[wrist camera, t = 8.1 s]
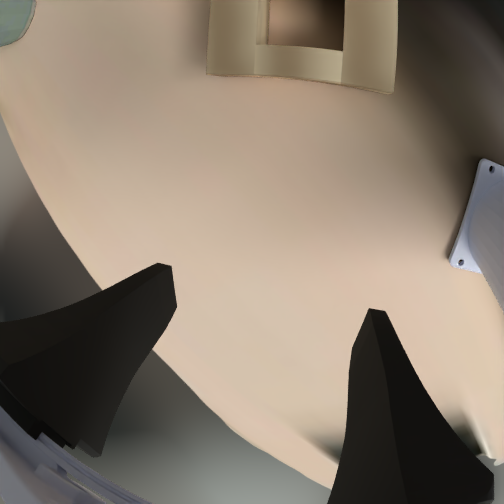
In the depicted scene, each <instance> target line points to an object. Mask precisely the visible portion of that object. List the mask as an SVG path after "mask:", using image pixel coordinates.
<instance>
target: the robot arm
mask: <svg viewBox="0 0 504 504" xmlns="http://www.w3.org/2000/svg"><path fill="white" fill-rule="evenodd" d="M490 166H492V171H491V172H489V168H490ZM459 260H462V262H460V263H458V262H459ZM449 263H450V265H451V266H452V267H456V268H460V269H464V270H468V271H473V272H477V273H481V274H483V275H484V277H485V279H486V281H487V282H488V284H489V286H490V288H491V290H492V291H493V293H494V295H495V297H496V299H497V301H498V303H499V305H500V307H501V309H502V311H503V313H504V166H501V165H499V164H497V163H494V162H492V161H490V160H487V159H481V160H480V162H479V164H478V169H477V173H476V177H475V181H474V185H473V188H472V192H471V195H470V199H469V202H468V206H467V209H466V212H465V215H464V218H463V221H462V224H461V227H460V230H459V233H458V235H457V238H456V241H455V244H454V246H453V249H452V251H451V254H450V256H449ZM176 308H177V302H176V296H175V289H174V281H173V274H172V266H169V265H165V264H161V263H156V264H154V265H152V266H150V267H148V268H146V269H144V270H142V271H140V272H138V273H136V274H134V275H132V276H130V277H128V278H126V279H124V280H122V281H120V282H119V283H117V284H115V285H113V286H111V287H109V288H107V289H105V290H103V291H101V292H99V293H96V294H94V295H92V296H90V297H88V298H86V299H84V300H81V301H79V302H77V303H74V304H72V305H69V306H66V307H64V308H61V309H58V310H54V311H51V312H48V313H45V314H42V315H38V316H34V317H30V318H26V319H20V320H15V321H8V322H0V496H1V497H2V499H3V500H4V502H5V503H6V504H106V502H105V501H104V500H102V499H101V498H100V497H98V496H97V495H96V494H94V493H93V492H91V491H90V490H88V489H87V488H85V487H83V486H82V485H80V484H78V483H76V482H75V481H73V480H71V479H70V478H68V477H67V472H69V473H70V474H71V475H73V476H74V477H75V478H77V479H78V480H79V481H81V482H82V483H84V484H85V485H87V486H88V487H90V488H91V489H93V490H94V491H96V492H97V493H99V494H101V495H102V496H104V497H105V498H107V499H109V500H110V501H112V502H114V503H115V504H153V503H151V502H149V501H147V500H145V499H143V498H141V497H139V496H137V495H135V494H133V493H131V492H129V491H128V490H126V489H124V488H122V487H120V486H118V485H117V484H115V483H113V482H112V481H110V480H108V479H106V478H105V477H103V476H102V475H100V474H98V473H97V472H95V471H94V470H92V469H91V468H89V467H88V466H86V465H85V464H83V463H82V462H80V461H79V460H77V459H76V458H75V457H73V456H72V455H70V454H69V453H68V452H66V451H65V450H64V449H63V447H64V446H65V444H66V445H67V446H69V447H70V448H72V449H74V448H75V447H76V446H77V447H78V448H79V449H81V450H82V451H84V452H85V453H87V454H88V455H90V456H91V457H99V456H101V454H102V450H103V447H104V444H105V441H106V437H107V434H108V431H109V429H110V426H111V424H112V421H113V418H114V416H115V414H116V411H117V409H118V407H119V405H120V402H121V400H122V398H123V396H124V394H125V392H126V390H127V388H128V386H129V384H130V382H131V380H132V378H133V377H134V375H135V373H136V372H137V370H138V368H139V367H140V366H141V364H142V363H143V361H144V360H145V358H146V357H147V355H148V354H149V353H150V351H151V350H152V348H153V347H154V345H155V344H156V343H157V341H158V340H159V338H160V337H161V335H162V334H163V332H164V331H165V329H166V328H167V326H168V324H169V322H170V320H171V318H172V316H173V314H174V312H175V310H176ZM66 471H67V472H66ZM493 500H494V474H493V473H492V472H491V471H490V470H489V469H488V468H487V467H486V466H485V465H484V464H483V463H481V461H480V460H479V459H478V458H477V457H476V456H475V455H474V454H473V453H472V452H471V451H470V450H469V449H468V447H467V446H466V445H465V444H464V443H463V442H462V441H461V439H460V438H459V437H458V436H457V434H456V433H455V432H454V431H453V429H452V428H451V427H450V425H449V424H448V422H447V421H446V420H445V418H444V417H443V416H442V414H441V413H440V411H439V410H438V408H437V407H436V405H435V404H434V402H433V401H432V399H431V397H430V396H429V394H428V393H427V391H426V389H425V388H424V386H423V384H422V383H421V381H420V379H419V377H418V375H417V374H416V372H415V370H414V368H413V366H412V364H411V362H410V360H409V358H408V356H407V354H406V352H405V350H404V348H403V346H402V344H401V342H400V340H399V338H398V336H397V334H396V332H395V330H394V328H393V325H392V323H391V321H390V319H389V317H388V315H387V313H386V312H385V311H382V310H376V309H371V308H369V309H368V312H367V314H366V317H365V319H364V322H363V324H362V326H361V329H360V331H359V333H358V336H357V338H356V340H355V342H354V345H353V347H352V353H351V360H350V368H349V382H348V406H347V422H346V432H345V439H344V444H343V449H342V453H341V458H340V462H339V466H338V470H337V474H336V478H335V481H334V484H333V488H332V491H331V495H330V497H329V500H328V503H327V504H491V503H492V501H493Z"/></svg>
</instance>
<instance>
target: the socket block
mask: <svg viewBox="0 0 504 504" xmlns="http://www.w3.org/2000/svg"><path fill="white" fill-rule="evenodd" d="M269 10H270V0H211V3H210V16H209V30H208V47H207V67H206V74H207V75H216V76H242V77H270V78H284V79H296V80H306V81H314V82H322V83H329V84H336V85H342V86H348V87H353V88H358V89H364V90H368V91H373V92H378V93H382V94H393V92H394V82H395V70H396V56H397V32H398V0H345V20H344V41H343V51H336V50H329V49H321V48H312V47H301V46H286V45H267V44H268V27H269Z"/></svg>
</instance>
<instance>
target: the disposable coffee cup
mask: <svg viewBox="0 0 504 504" xmlns="http://www.w3.org/2000/svg"><path fill="white" fill-rule="evenodd" d="M35 6H36V1H35V0H0V47H1V46H5V45H8V44H11V43H13V42H14V41H17V40H18V39H20V38H21V37H22V36H23V35H24V33H25V32H26V30H27V29H28V27H29V25H30V23H31V20H32V18H33V15H34V11H35Z"/></svg>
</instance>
